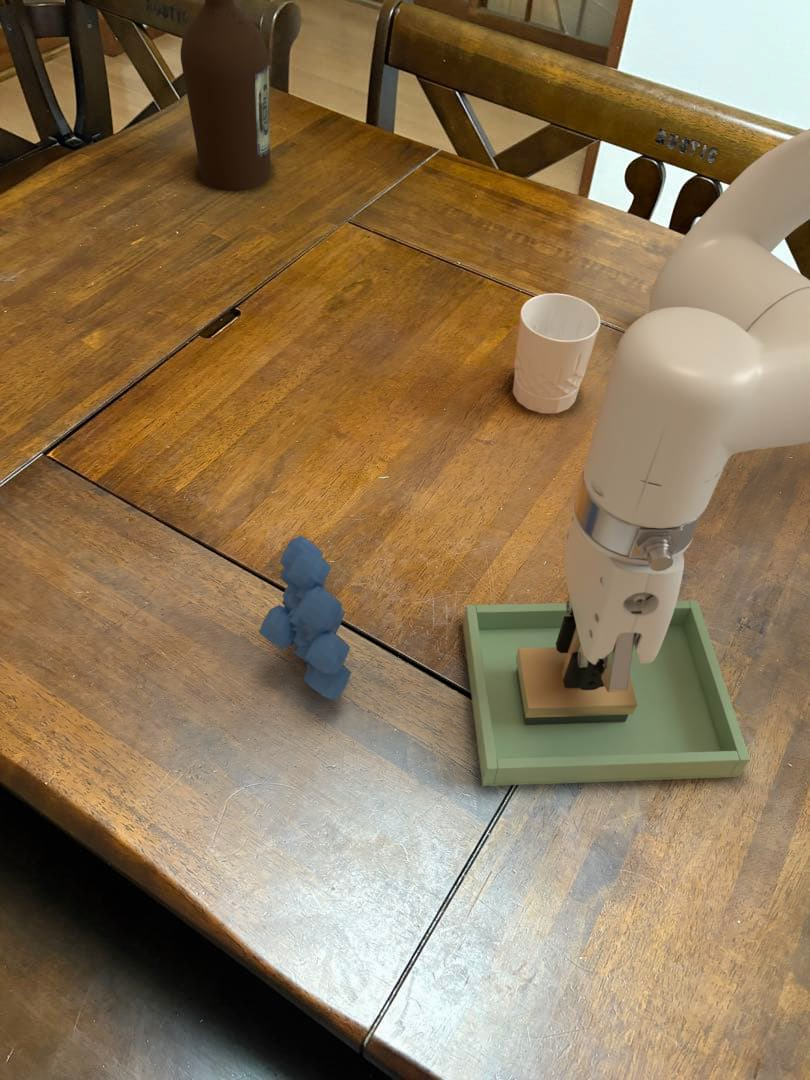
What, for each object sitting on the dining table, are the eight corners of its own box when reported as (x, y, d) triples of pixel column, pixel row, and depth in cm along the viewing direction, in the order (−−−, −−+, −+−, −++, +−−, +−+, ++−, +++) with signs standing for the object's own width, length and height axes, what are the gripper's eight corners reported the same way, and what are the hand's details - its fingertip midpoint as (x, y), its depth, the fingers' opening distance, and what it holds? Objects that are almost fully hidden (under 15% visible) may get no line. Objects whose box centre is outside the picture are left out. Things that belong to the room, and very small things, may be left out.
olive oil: (191, 194, 120) (162, -17, 101) (201, 154, 127) (175, -51, 108) (272, 196, 121) (259, -13, 102) (278, 157, 127) (266, -46, 108)
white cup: (530, 361, 101) (545, 283, 93) (593, 390, 98) (614, 313, 91) (493, 398, 97) (505, 320, 89) (558, 430, 94) (576, 352, 86)
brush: (614, 665, 75) (643, 592, 67) (628, 724, 71) (661, 653, 64) (513, 668, 74) (531, 594, 67) (522, 727, 71) (542, 657, 63)
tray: (687, 621, 79) (697, 599, 77) (736, 778, 70) (750, 759, 67) (462, 626, 77) (465, 604, 75) (482, 787, 68) (486, 768, 66)
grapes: (249, 616, 77) (235, 522, 68) (326, 598, 79) (324, 504, 69) (281, 735, 70) (271, 648, 61) (365, 713, 72) (368, 625, 62)
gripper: (737, 608, 51) (653, 761, 65) (665, 412, 61) (606, 581, 75) (605, 612, 50) (548, 765, 64) (555, 413, 60) (515, 583, 74)
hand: (580, 665), depth 69 cm, fingers closed on brush, 2 cm apart
